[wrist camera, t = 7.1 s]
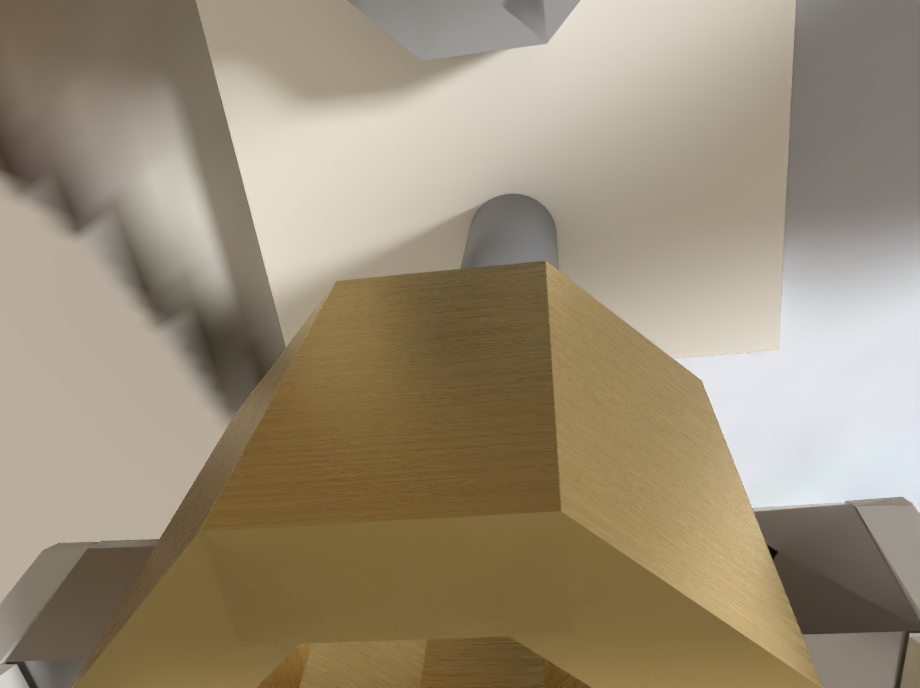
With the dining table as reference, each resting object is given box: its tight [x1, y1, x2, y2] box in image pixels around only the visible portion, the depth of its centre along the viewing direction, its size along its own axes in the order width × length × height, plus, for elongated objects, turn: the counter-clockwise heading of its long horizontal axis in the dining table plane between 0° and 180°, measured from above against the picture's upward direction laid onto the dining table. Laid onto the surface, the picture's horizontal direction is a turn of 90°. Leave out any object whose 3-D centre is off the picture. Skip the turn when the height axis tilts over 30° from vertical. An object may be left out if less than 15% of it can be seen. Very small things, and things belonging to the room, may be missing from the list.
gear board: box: [196, 0, 796, 358], centre depth 15 cm, size 14×12×6 cm
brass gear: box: [70, 260, 823, 688], centre depth 8 cm, size 5×5×4 cm
